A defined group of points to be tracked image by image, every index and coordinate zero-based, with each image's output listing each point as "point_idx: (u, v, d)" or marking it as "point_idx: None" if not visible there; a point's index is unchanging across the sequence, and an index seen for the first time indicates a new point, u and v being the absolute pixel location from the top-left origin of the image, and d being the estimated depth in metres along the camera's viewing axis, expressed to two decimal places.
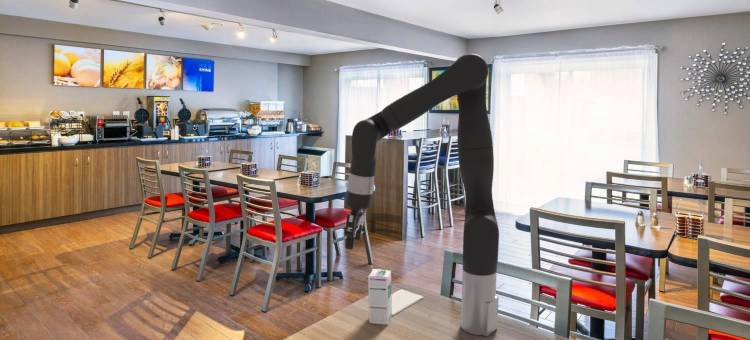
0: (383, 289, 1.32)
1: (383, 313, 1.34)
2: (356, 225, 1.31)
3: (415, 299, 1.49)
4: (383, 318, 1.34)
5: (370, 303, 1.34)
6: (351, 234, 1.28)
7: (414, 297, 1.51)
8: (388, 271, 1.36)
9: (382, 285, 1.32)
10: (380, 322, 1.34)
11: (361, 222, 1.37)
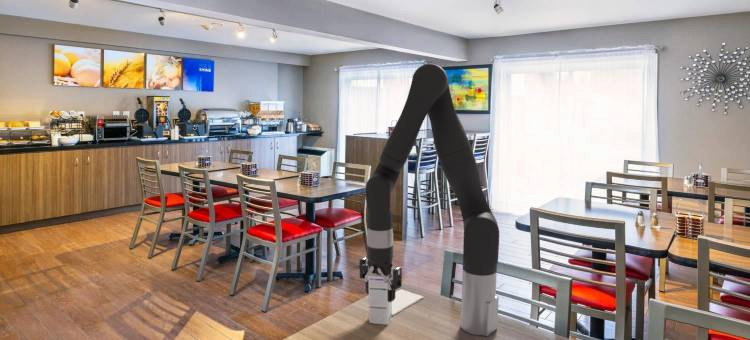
0: (383, 289, 1.32)
1: (383, 313, 1.34)
2: (391, 276, 1.33)
3: (415, 299, 1.49)
4: (383, 318, 1.34)
5: (370, 303, 1.34)
6: (400, 285, 1.31)
7: (414, 297, 1.51)
8: None
9: (382, 285, 1.32)
10: (380, 322, 1.34)
11: None
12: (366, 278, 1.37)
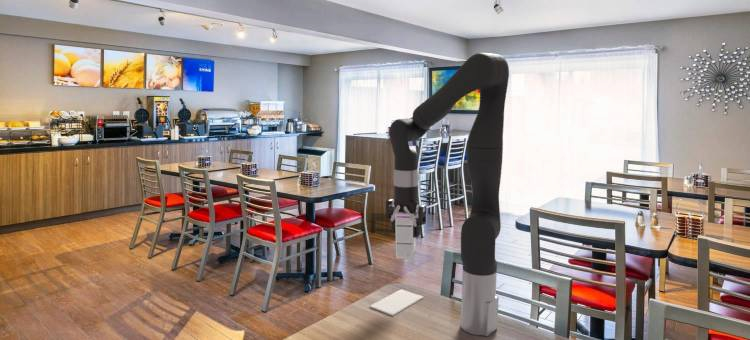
0: (409, 226, 1.44)
1: (409, 248, 1.45)
2: (416, 214, 1.45)
3: (415, 299, 1.49)
4: (409, 253, 1.45)
5: (397, 239, 1.45)
6: (425, 222, 1.43)
7: (414, 297, 1.51)
8: None
9: (408, 222, 1.44)
10: (406, 257, 1.46)
11: None
12: (392, 218, 1.48)
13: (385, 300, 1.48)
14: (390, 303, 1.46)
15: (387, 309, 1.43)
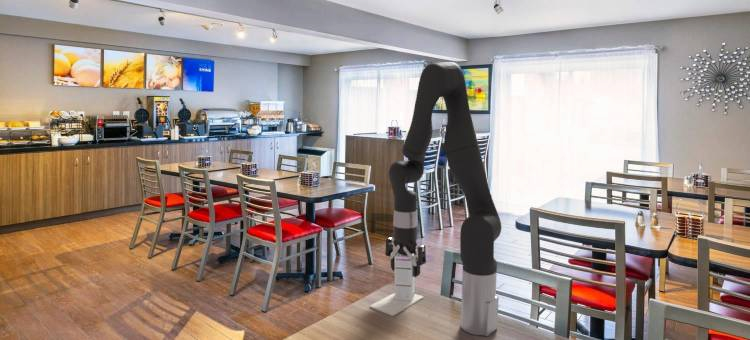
0: (408, 268, 1.46)
1: (408, 290, 1.48)
2: (416, 254, 1.47)
3: (415, 299, 1.49)
4: (408, 295, 1.48)
5: (396, 281, 1.48)
6: (425, 261, 1.45)
7: (414, 297, 1.51)
8: None
9: (407, 265, 1.46)
10: (405, 298, 1.48)
11: None
12: (391, 256, 1.51)
13: (385, 300, 1.48)
14: (390, 303, 1.46)
15: (387, 309, 1.43)
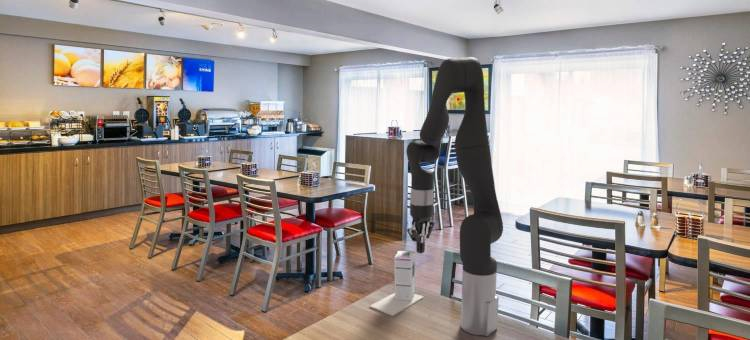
0: (408, 268, 1.46)
1: (407, 290, 1.48)
2: None
3: (415, 299, 1.49)
4: (407, 295, 1.48)
5: (396, 281, 1.48)
6: None
7: (414, 297, 1.51)
8: (412, 252, 1.50)
9: (407, 265, 1.46)
10: (405, 298, 1.48)
11: (417, 232, 1.55)
12: (422, 239, 1.53)
13: (385, 300, 1.48)
14: (390, 303, 1.46)
15: (387, 309, 1.43)
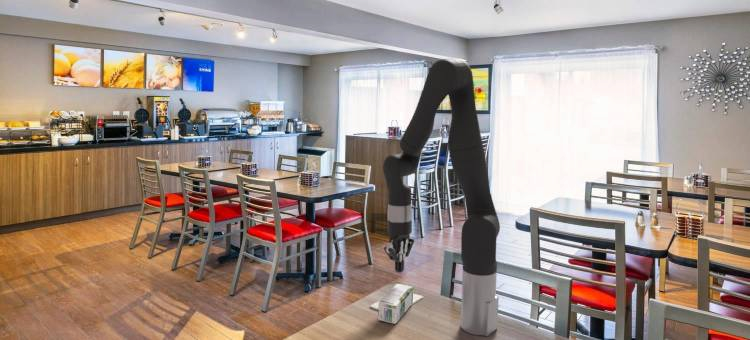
0: None
1: None
2: None
3: (415, 299, 1.49)
4: None
5: None
6: None
7: (414, 297, 1.51)
8: (394, 309, 1.33)
9: None
10: None
11: None
12: (400, 257, 1.45)
13: None
14: None
15: None
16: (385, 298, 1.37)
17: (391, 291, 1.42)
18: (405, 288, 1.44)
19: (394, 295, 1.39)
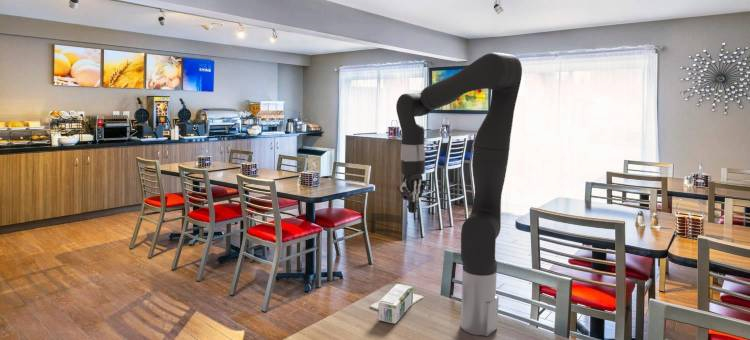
0: None
1: None
2: None
3: (415, 299, 1.49)
4: None
5: None
6: None
7: (414, 297, 1.51)
8: (394, 309, 1.33)
9: None
10: None
11: (408, 191, 1.48)
12: (413, 197, 1.47)
13: None
14: None
15: None
16: (385, 298, 1.37)
17: (391, 291, 1.42)
18: (405, 288, 1.44)
19: (394, 295, 1.39)
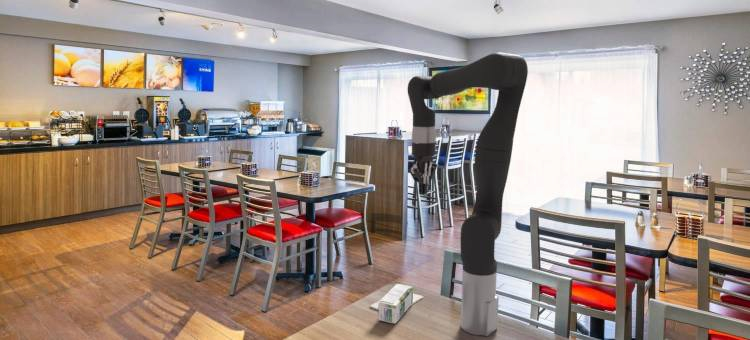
0: None
1: None
2: None
3: (415, 299, 1.49)
4: None
5: None
6: None
7: (414, 297, 1.51)
8: (394, 309, 1.33)
9: None
10: None
11: (419, 173, 1.50)
12: (424, 179, 1.49)
13: None
14: None
15: None
16: (385, 298, 1.37)
17: (391, 291, 1.42)
18: (405, 288, 1.44)
19: (394, 295, 1.39)
